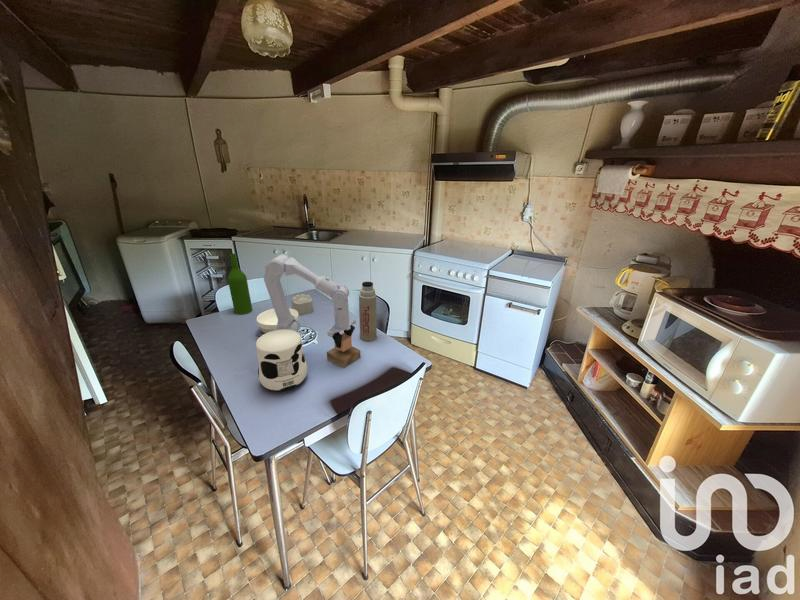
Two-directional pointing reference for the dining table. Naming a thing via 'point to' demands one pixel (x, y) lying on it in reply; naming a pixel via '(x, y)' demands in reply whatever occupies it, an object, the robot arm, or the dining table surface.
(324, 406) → the dining table surface
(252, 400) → the dining table surface
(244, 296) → the wine bottle
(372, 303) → the thermos bottle
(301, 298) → the lumpy-topped squat cylinder
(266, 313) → the bowl
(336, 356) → the walnut base
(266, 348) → the milk container
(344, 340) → the terracotta cube
